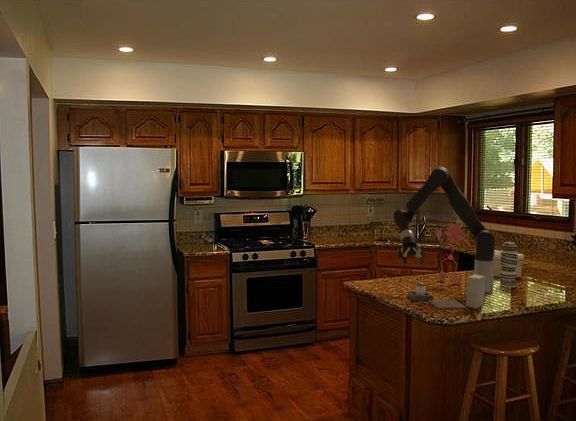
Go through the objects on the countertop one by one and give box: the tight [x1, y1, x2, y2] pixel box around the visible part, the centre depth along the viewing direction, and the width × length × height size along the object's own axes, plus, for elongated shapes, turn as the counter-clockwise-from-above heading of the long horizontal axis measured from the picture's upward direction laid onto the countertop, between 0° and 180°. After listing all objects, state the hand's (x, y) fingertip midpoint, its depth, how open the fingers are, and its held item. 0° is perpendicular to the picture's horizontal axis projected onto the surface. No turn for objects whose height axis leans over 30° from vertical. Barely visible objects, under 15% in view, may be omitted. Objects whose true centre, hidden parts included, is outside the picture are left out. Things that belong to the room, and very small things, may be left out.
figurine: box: [435, 222, 472, 285], centre depth 316 cm, size 15×26×35 cm, turn 34°
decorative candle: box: [499, 241, 518, 288], centre depth 308 cm, size 9×9×25 cm
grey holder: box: [407, 290, 434, 302], centre depth 276 cm, size 10×10×2 cm
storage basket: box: [492, 249, 525, 279], centre depth 338 cm, size 24×16×15 cm
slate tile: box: [427, 299, 467, 310], centre depth 264 cm, size 14×14×1 cm
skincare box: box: [465, 273, 485, 309], centre depth 261 cm, size 8×6×15 cm
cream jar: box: [414, 281, 426, 296], centre depth 276 cm, size 5×5×8 cm
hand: (413, 264), depth 286 cm, fingers open, 8 cm apart
